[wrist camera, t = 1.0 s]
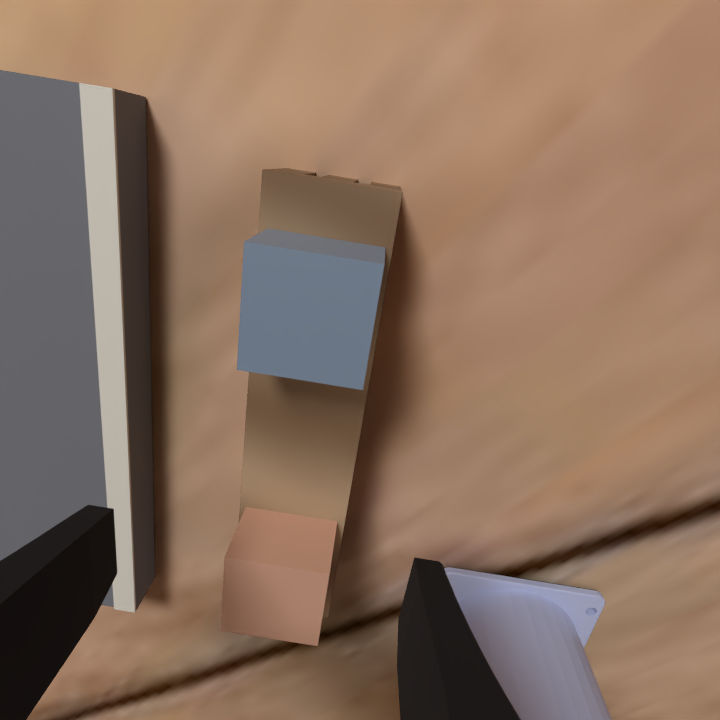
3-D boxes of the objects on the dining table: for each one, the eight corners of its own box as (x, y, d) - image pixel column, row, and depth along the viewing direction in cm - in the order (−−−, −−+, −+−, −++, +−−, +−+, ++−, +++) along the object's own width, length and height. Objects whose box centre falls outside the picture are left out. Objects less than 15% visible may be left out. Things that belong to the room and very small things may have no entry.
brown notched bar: (337, 546, 24) (328, 617, 20) (257, 534, 24) (233, 602, 20) (399, 185, 17) (402, 192, 14) (289, 168, 17) (262, 169, 14)
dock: (155, 576, 25) (135, 612, 23) (-38, 545, 25) (-74, 578, 23) (145, 97, 16) (112, 88, 14) (-147, 49, 16) (-221, 33, 14)
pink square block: (326, 588, 19) (317, 646, 17) (241, 574, 19) (220, 630, 17) (337, 521, 18) (329, 573, 16) (245, 506, 18) (224, 557, 16)
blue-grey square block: (366, 355, 16) (362, 389, 13) (259, 338, 15) (236, 369, 13) (385, 247, 14) (384, 264, 12) (267, 228, 14) (244, 241, 12)
